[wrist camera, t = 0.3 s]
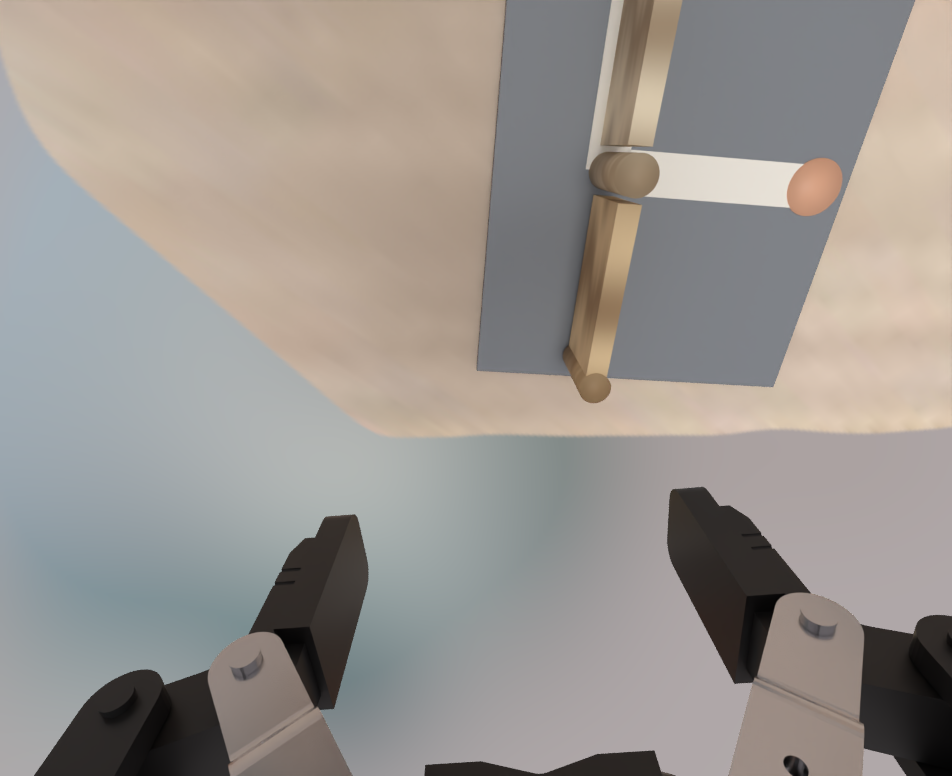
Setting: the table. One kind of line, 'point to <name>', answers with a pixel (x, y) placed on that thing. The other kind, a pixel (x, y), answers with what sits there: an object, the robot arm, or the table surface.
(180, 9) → the table surface
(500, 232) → the card
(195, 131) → the table surface
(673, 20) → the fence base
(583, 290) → the fence gate
